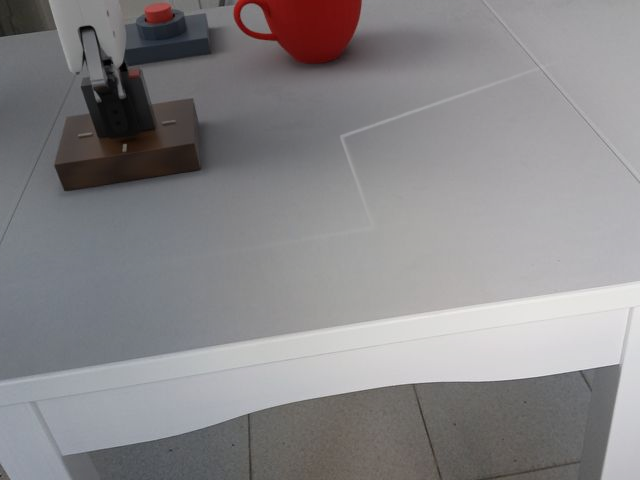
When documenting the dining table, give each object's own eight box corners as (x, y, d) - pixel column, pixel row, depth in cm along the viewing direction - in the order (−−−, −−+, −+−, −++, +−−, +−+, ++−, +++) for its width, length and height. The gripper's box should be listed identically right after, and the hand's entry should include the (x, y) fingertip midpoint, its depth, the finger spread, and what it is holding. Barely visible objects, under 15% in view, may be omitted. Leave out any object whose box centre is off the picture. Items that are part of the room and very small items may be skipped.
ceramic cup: (225, 60, 96) (209, -22, 89) (336, 27, 101) (329, -52, 94) (266, 92, 87) (252, 5, 81) (385, 55, 93) (381, -30, 86)
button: (146, 27, 97) (143, 13, 96) (147, 18, 100) (144, 4, 99) (173, 23, 98) (170, 9, 96) (173, 14, 100) (170, 0, 99)
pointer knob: (97, 137, 75) (79, 84, 71) (99, 128, 77) (81, 75, 73) (155, 129, 76) (140, 75, 72) (156, 120, 77) (141, 66, 73)
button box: (121, 67, 97) (112, 36, 94) (126, 40, 104) (117, 11, 102) (211, 54, 98) (204, 23, 95) (208, 28, 105) (203, -1, 102)
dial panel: (64, 191, 74) (53, 163, 72) (75, 141, 82) (65, 115, 80) (200, 169, 75) (193, 141, 73) (198, 123, 83) (192, 96, 81)
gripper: (36, -88, 69) (96, 96, 82) (5, -39, 57) (81, 169, 70) (115, -98, 70) (163, 86, 82) (101, -52, 58) (159, 156, 70)
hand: (125, 122), depth 76 cm, fingers open, 4 cm apart
